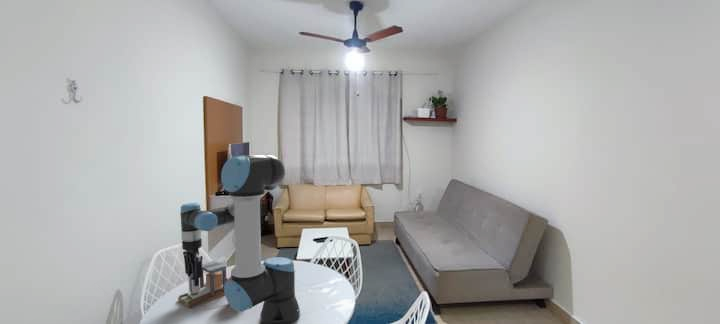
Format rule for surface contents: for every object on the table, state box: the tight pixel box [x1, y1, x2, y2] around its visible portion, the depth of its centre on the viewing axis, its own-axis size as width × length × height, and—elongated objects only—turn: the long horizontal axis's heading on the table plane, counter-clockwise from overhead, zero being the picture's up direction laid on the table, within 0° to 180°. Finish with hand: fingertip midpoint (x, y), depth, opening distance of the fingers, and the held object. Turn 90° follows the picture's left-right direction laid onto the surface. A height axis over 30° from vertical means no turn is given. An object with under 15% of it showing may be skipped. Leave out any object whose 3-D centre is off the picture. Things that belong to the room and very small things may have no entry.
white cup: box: [209, 256, 228, 280], centre depth 160 cm, size 8×8×10 cm
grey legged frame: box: [177, 261, 229, 309], centre depth 144 cm, size 11×22×13 cm, turn 142°
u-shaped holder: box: [187, 272, 223, 299], centre depth 143 cm, size 6×14×10 cm, turn 142°
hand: (194, 291), depth 139 cm, fingers closed on u-shaped holder, 3 cm apart
